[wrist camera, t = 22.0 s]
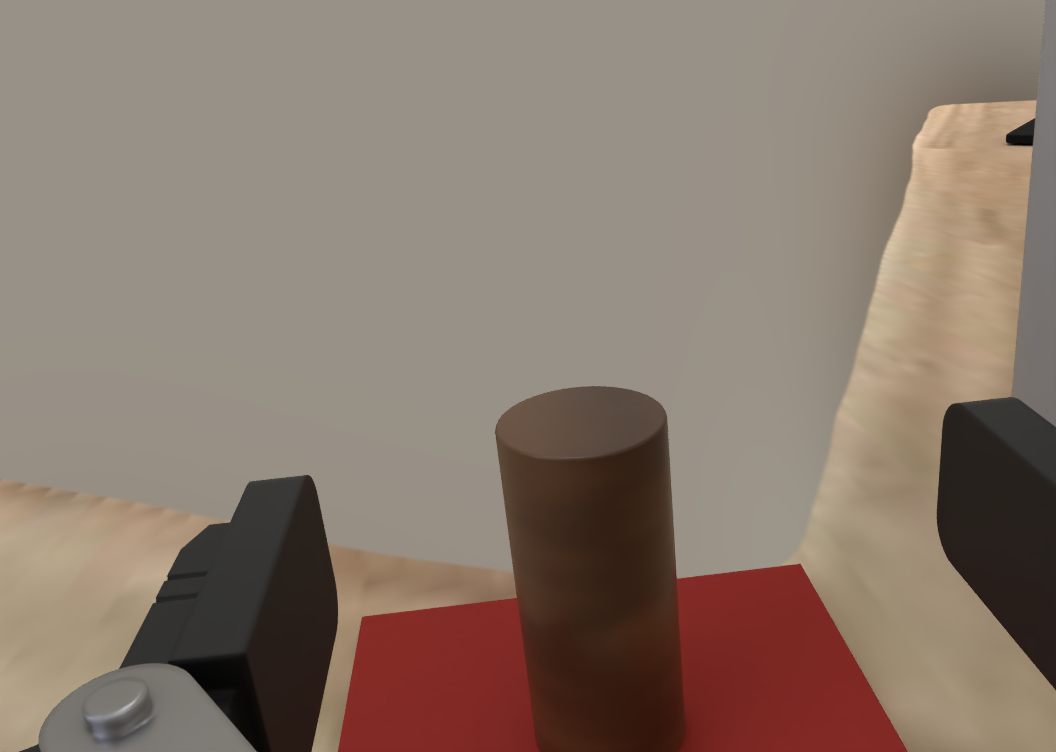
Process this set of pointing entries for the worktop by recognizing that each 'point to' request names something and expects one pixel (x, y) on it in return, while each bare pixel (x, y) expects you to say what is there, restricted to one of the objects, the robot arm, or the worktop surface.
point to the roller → (595, 568)
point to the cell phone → (1022, 134)
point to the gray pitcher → (1040, 248)
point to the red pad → (707, 671)
